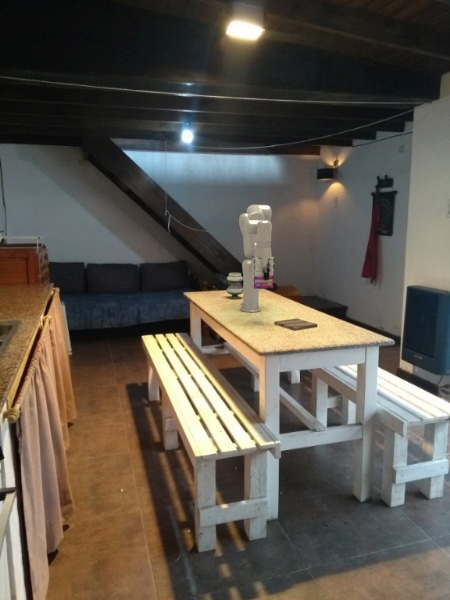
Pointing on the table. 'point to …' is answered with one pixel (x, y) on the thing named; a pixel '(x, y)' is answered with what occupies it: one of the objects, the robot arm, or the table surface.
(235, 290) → the apothecary jar
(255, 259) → the candy bar box
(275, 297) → the table surface
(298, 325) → the walnut board
